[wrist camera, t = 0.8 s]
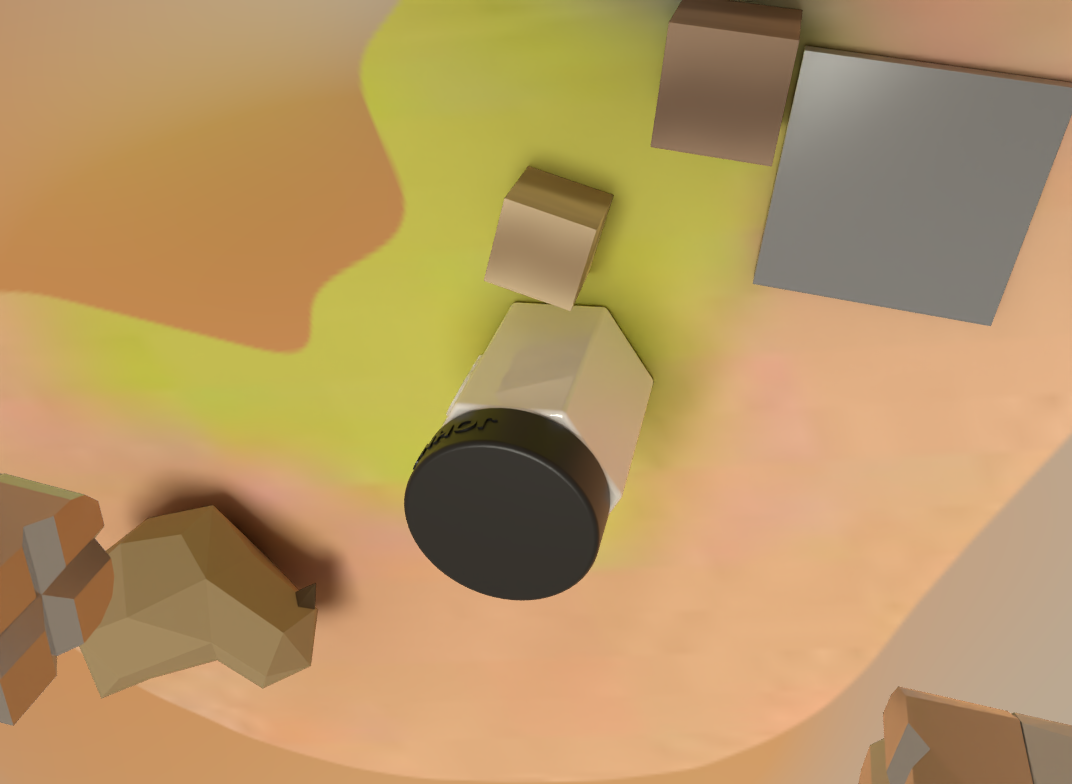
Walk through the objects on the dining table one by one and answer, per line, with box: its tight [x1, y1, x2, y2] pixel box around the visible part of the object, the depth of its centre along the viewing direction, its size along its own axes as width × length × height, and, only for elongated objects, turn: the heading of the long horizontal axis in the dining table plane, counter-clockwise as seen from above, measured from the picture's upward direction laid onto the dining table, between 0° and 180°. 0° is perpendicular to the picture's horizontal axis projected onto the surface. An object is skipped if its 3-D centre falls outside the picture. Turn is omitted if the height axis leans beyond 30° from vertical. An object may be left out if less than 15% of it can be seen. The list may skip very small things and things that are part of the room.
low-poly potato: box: [79, 505, 318, 698], centre depth 58 cm, size 15×11×12 cm
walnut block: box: [651, 0, 802, 166], centre depth 37 cm, size 4×4×5 cm
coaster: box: [753, 46, 1072, 326], centre depth 40 cm, size 10×10×1 cm
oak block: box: [484, 166, 614, 311], centre depth 43 cm, size 4×4×4 cm
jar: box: [404, 302, 653, 600], centre depth 44 cm, size 9×8×12 cm
